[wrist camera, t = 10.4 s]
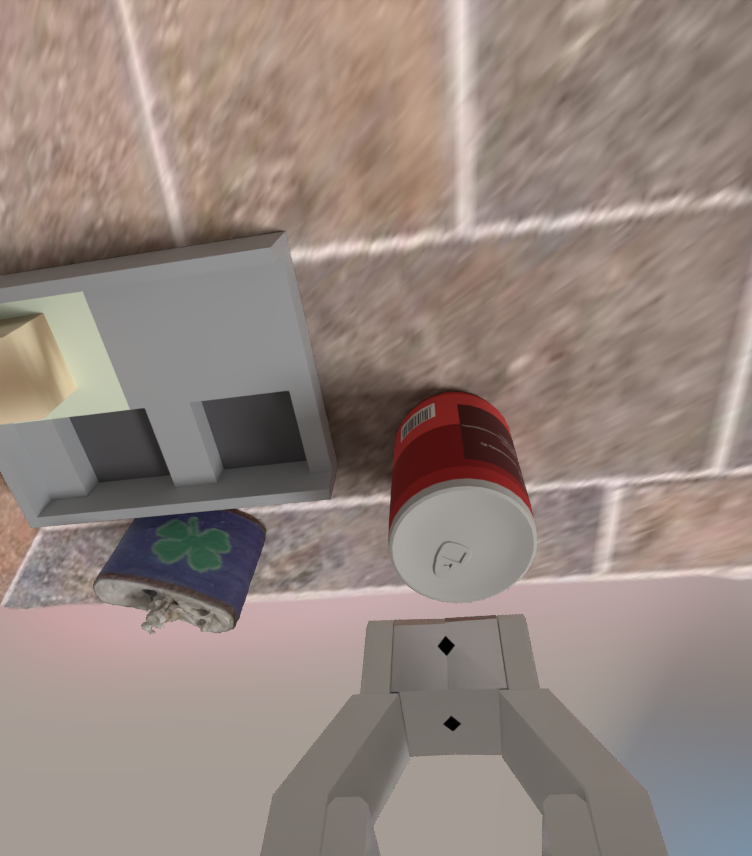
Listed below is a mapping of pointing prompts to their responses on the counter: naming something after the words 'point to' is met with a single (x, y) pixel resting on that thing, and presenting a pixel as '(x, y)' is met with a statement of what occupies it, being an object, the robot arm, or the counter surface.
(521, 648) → the robot arm
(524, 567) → the canned food
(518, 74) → the counter surface
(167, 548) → the flask
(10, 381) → the maple block
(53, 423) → the grey compartment tray
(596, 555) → the counter surface
